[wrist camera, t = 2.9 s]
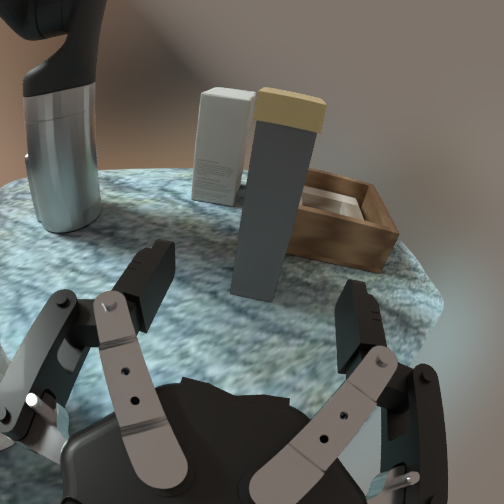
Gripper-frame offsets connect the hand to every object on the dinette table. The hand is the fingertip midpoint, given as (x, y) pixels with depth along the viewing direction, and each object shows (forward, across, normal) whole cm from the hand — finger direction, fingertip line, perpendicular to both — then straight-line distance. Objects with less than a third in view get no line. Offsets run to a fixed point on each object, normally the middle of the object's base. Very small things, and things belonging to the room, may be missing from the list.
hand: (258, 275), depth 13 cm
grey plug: (+11, 0, +11) cm, 16 cm away
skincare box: (+29, +8, +11) cm, 32 cm away
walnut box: (+24, -7, +11) cm, 27 cm away
